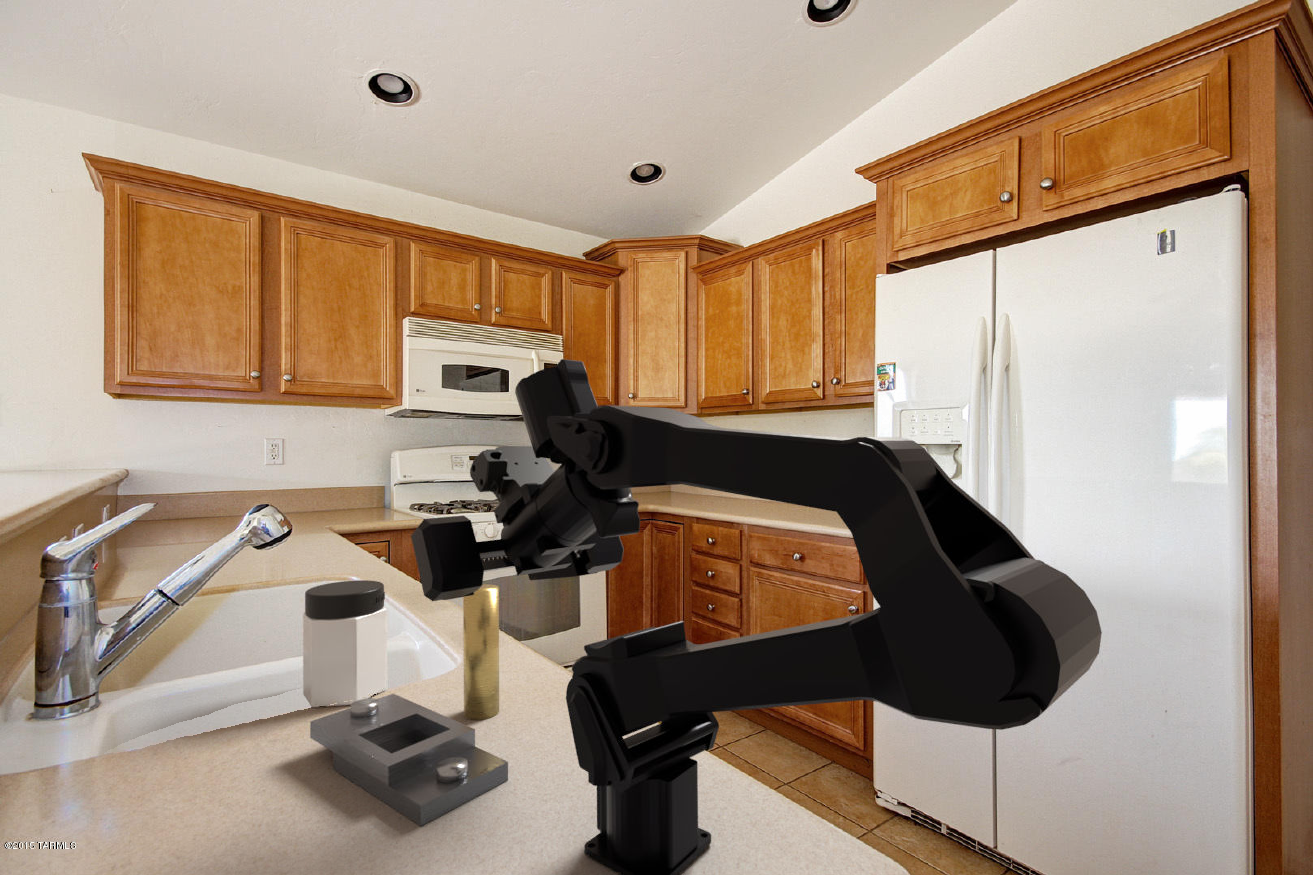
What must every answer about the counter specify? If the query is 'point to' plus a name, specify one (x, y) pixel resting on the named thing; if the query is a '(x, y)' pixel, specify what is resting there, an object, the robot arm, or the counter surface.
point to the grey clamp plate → (408, 756)
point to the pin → (481, 653)
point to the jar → (344, 642)
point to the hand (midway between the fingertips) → (487, 582)
